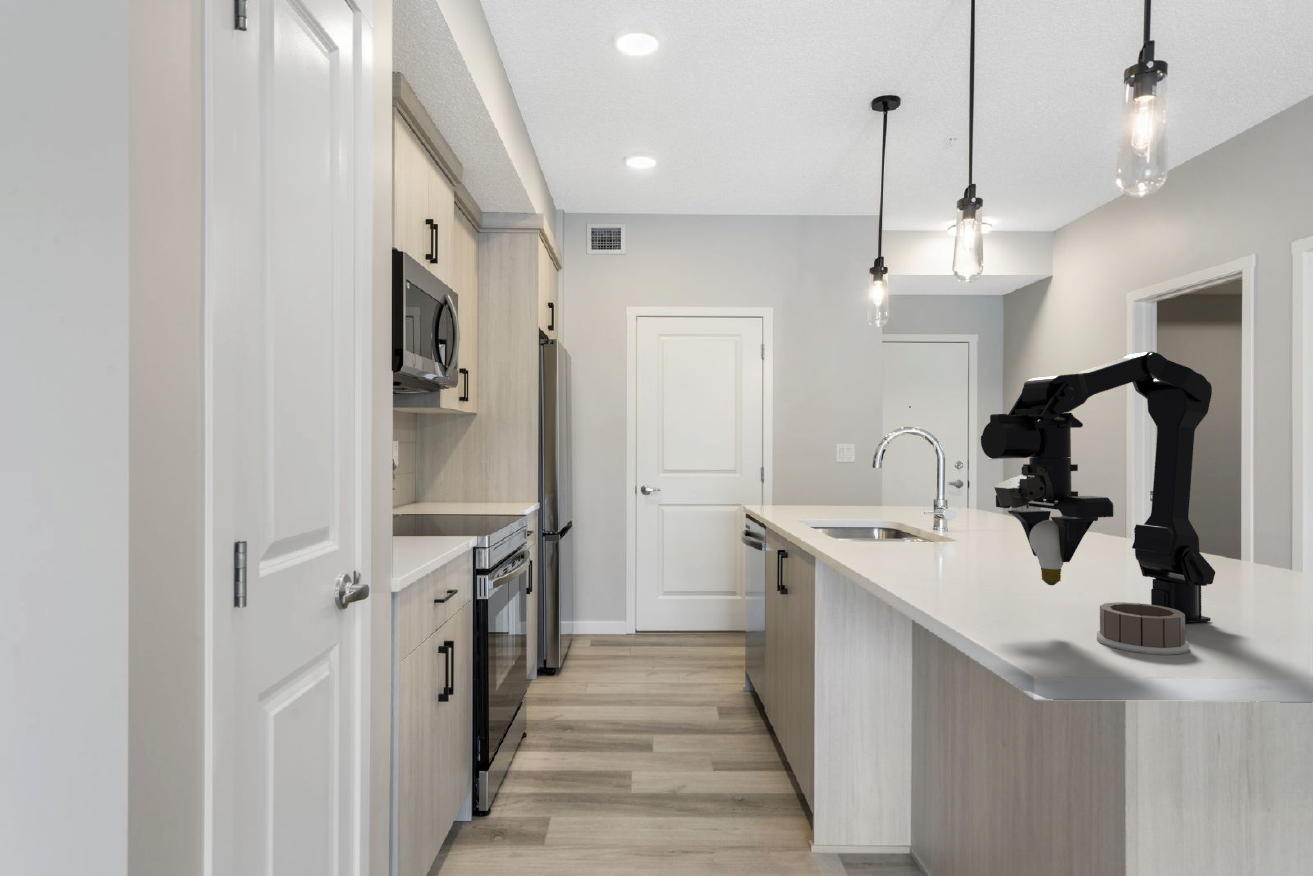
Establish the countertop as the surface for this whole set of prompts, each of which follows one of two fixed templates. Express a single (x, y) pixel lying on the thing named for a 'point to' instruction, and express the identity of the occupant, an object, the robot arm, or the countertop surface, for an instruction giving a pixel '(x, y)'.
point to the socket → (1142, 628)
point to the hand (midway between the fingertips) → (1051, 559)
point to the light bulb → (1047, 550)
